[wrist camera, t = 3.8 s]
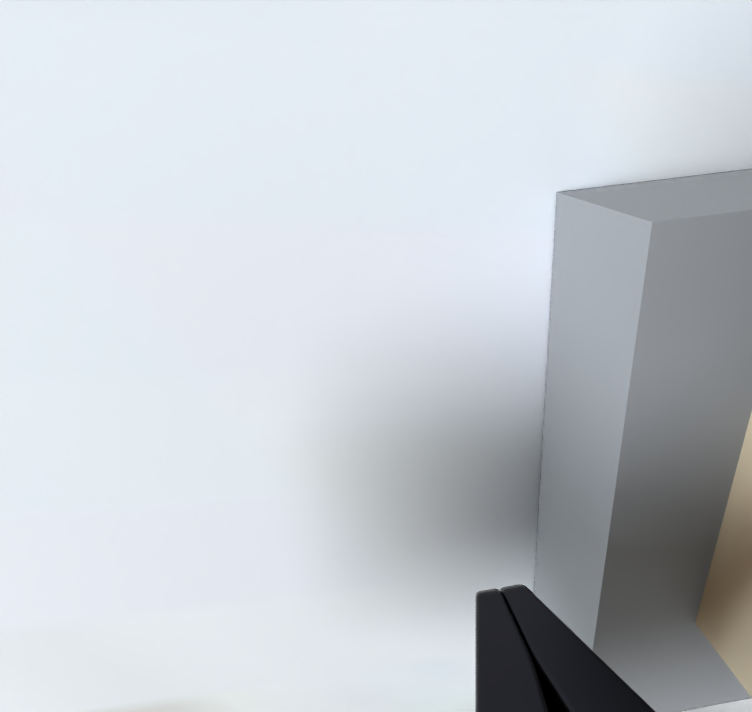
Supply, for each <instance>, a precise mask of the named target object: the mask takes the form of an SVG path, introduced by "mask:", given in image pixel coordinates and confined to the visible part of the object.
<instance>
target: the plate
mask: <svg viewBox="0 0 752 712" xmlns="http://www.w3.org/2000/svg"><path fill="white" fill-rule="evenodd" d="M751 412H752V169H747V170H739V171H730V172H722V173H714V174H705V175H697V176H688V177H680V178H672V179H663V180H655V181H647V182H638V183H630V184H622V185H613V186H605V187H597V188H588V189H580V190H572V191H563V192H557V195H556V212H555V230H554V248H553V265H552V283H551V300H550V318H549V336H548V353H547V371H546V388H545V406H544V424H543V441H542V459H541V476H540V494H539V512H538V529H537V547H536V564H535V582H534V595H535V596H536V597H538V598H539V599H540V600H541V601H542V602H543V603H544V604H545V605H546V606H547V607H548V608H549V609H550V610H551V611H552V612H553V613H554V614H555V615H556V616H557V617H558V618H559V619H560V620H561V621H562V622H563V623H564V624H565V625H566V626H568V627H569V628H570V629H571V630H572V631H573V632H574V633H575V634H576V635H577V636H578V637H579V638H580V639H581V640H582V641H583V642H584V643H585V644H586V645H587V646H588V647H589V648H590V649H591V650H592V651H593V652H594V653H595V654H596V655H598V656H599V657H600V658H601V659H602V660H603V661H604V662H605V663H606V664H607V665H608V666H609V667H610V668H611V669H612V670H613V671H614V672H615V673H616V674H617V675H618V676H619V677H620V678H621V679H622V680H623V681H624V682H625V683H626V684H628V685H629V686H630V687H631V688H632V689H633V690H634V691H635V692H636V693H637V694H638V695H639V696H640V697H641V698H642V699H643V700H644V701H645V702H646V703H647V704H648V705H649V706H650V707H651V708H652V709H653V710H654V711H655V712H680V711H686V710H691V709H696V708H702V707H707V706H712V705H717V704H723V703H728V702H733V701H739V700H744V699H749V698H752V697H751V696H750V695H749V694H748V692H747V691H746V690H745V688H744V687H743V686H742V684H741V683H740V682H739V680H738V679H737V678H736V676H735V675H734V674H733V672H732V671H731V670H730V668H729V667H728V666H727V664H726V663H725V662H724V661H723V659H722V658H721V657H720V655H719V654H718V653H717V651H716V650H715V649H714V647H713V646H712V645H711V643H710V642H709V641H708V639H707V638H706V637H705V635H704V634H703V633H702V631H701V630H700V629H699V628H698V626H697V625H696V624H695V623H696V619H697V615H698V611H699V608H700V604H701V600H702V596H703V592H704V589H705V585H706V581H707V577H708V574H709V570H710V566H711V562H712V559H713V555H714V551H715V547H716V544H717V540H718V536H719V532H720V528H721V525H722V521H723V517H724V513H725V510H726V506H727V502H728V498H729V495H730V491H731V487H732V483H733V479H734V476H735V472H736V468H737V464H738V461H739V457H740V453H741V449H742V446H743V442H744V438H745V434H746V430H747V427H748V423H749V419H750V415H751Z"/></svg>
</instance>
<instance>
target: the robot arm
mask: <svg viewBox="0 0 752 712" xmlns="http://www.w3.org/2000/svg"><path fill="white" fill-rule="evenodd" d="M476 712H655V711H654V710H653V709H652V708H651V707H650V706H649V705H648V704H647V703H646V702H645V701H644V700H643V699H642V698H641V697H640V696H639V695H638V694H637V693H636V692H635V691H634V690H633V689H632V688H631V687H630V686H629V685H628V684H626V683H625V682H624V681H623V680H622V679H621V678H620V677H619V676H618V675H617V674H616V673H615V672H614V671H613V670H612V669H611V668H610V667H609V666H608V665H607V664H606V663H605V662H604V661H603V660H602V659H601V658H600V657H599V656H598V655H596V654H595V653H594V652H593V651H592V650H591V649H590V648H589V647H588V646H587V645H586V644H585V643H584V642H583V641H582V640H581V639H580V638H579V637H578V636H577V635H576V634H575V633H574V632H573V631H572V630H571V629H570V628H569V627H568V626H566V625H565V624H564V623H563V622H562V621H561V620H560V619H559V618H558V617H557V616H556V615H555V614H554V613H553V612H552V611H551V610H550V609H549V608H548V607H547V606H546V605H545V604H544V603H543V602H542V601H541V600H540V599H539V598H538V597H536V596H535V595H534V594H533V593H532V592H531V591H530V590H529V589H528V588H527V587H526V586H524V585H513V586H508V587H503V588H501V590H500V591H499V590H498V589H490V590H485V591H479V592H477V593H476Z"/></svg>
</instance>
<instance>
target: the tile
mask: <svg viewBox="0 0 752 712" xmlns="http://www.w3.org/2000/svg"><path fill="white" fill-rule="evenodd" d="M695 624H696V625H697V626H698V628H699V629H700V630H701V631H702V633H703V634H704V635H705V637H706V638H707V639H708V641H709V642H710V643H711V645H712V646H713V647H714V649H715V650H716V651H717V653H718V654H719V655H720V657H721V658H722V659H723V661H724V662H725V663H726V664H727V666H728V667H729V668H730V670H731V671H732V672H733V674H734V675H735V676H736V678H737V679H738V680H739V682H740V683H741V684H742V686H743V687H744V688H745V690H746V691H747V692H748V694H749V695H750V696H751V697H752V412H751V415H750V419H749V423H748V427H747V430H746V434H745V438H744V442H743V446H742V449H741V453H740V457H739V461H738V464H737V468H736V472H735V476H734V479H733V483H732V487H731V491H730V495H729V498H728V502H727V506H726V510H725V513H724V517H723V521H722V525H721V528H720V532H719V536H718V540H717V544H716V547H715V551H714V555H713V559H712V562H711V566H710V570H709V574H708V577H707V581H706V585H705V589H704V592H703V596H702V600H701V604H700V608H699V611H698V615H697V619H696V623H695Z"/></svg>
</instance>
